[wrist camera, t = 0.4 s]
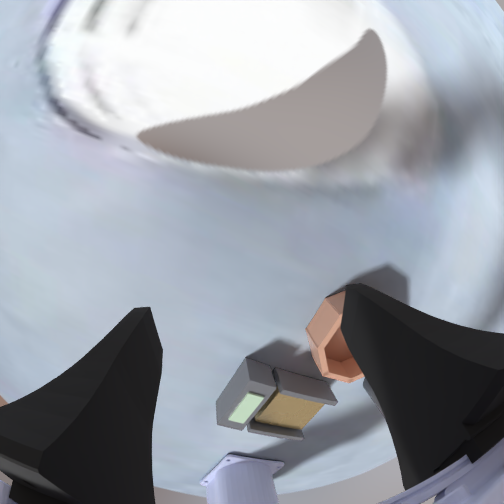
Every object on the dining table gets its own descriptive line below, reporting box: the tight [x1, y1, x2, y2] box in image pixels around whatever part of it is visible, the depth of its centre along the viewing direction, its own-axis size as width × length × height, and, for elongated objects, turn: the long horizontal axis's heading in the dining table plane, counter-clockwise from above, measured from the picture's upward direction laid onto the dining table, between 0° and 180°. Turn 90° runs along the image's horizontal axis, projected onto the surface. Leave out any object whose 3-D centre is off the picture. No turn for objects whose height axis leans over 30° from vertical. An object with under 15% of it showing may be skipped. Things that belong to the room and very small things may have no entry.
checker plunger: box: [254, 386, 324, 430], centre depth 22 cm, size 4×5×1 cm
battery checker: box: [216, 357, 338, 441], centre depth 22 cm, size 6×9×3 cm, turn 62°
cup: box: [305, 290, 364, 383], centre depth 21 cm, size 8×8×3 cm
